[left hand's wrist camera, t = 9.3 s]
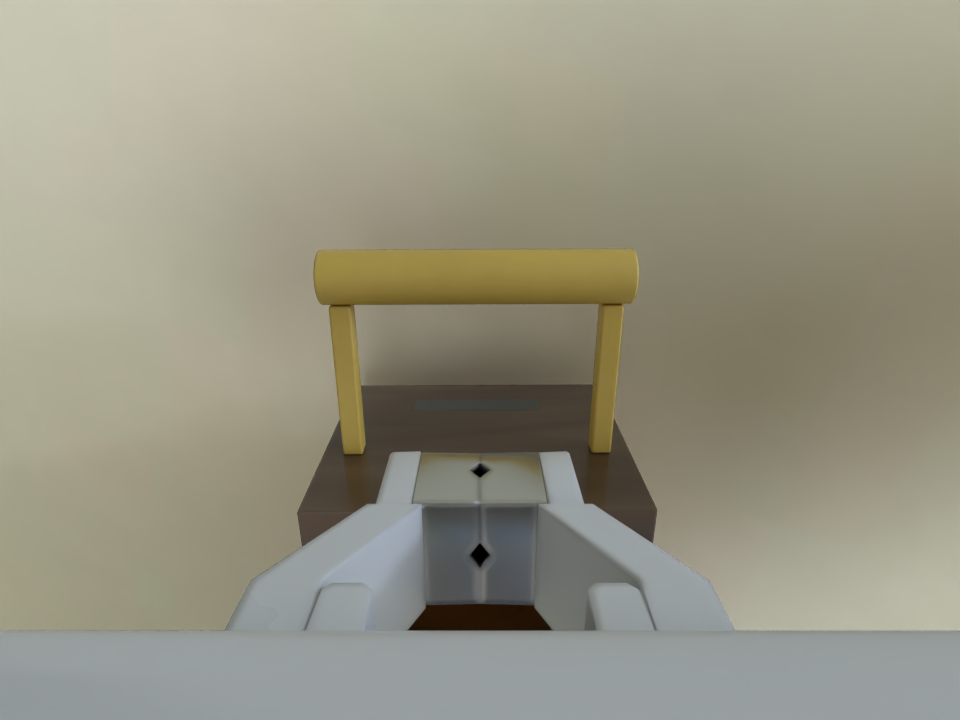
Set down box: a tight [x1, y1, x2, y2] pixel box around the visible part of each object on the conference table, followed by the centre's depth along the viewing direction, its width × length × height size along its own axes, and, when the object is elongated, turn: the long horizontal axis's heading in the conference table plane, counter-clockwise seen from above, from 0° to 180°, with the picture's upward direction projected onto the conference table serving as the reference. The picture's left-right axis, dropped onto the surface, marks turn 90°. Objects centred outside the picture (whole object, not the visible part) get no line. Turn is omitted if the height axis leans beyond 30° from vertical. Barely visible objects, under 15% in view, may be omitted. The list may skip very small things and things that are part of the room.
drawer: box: [297, 249, 657, 631], centre depth 20 cm, size 18×9×8 cm, turn 0°
